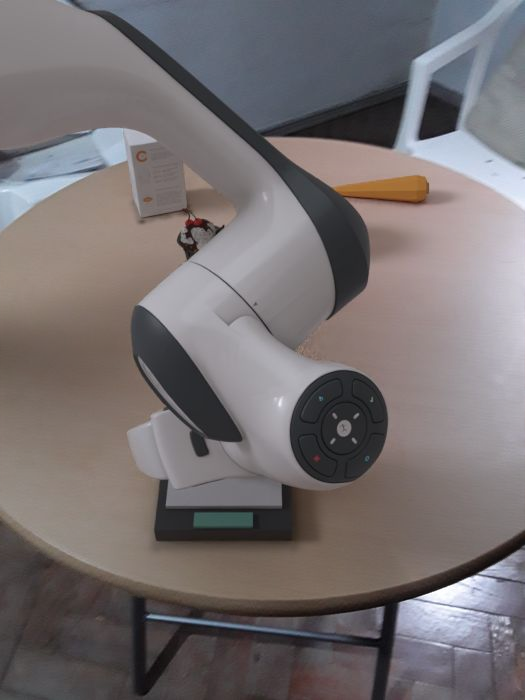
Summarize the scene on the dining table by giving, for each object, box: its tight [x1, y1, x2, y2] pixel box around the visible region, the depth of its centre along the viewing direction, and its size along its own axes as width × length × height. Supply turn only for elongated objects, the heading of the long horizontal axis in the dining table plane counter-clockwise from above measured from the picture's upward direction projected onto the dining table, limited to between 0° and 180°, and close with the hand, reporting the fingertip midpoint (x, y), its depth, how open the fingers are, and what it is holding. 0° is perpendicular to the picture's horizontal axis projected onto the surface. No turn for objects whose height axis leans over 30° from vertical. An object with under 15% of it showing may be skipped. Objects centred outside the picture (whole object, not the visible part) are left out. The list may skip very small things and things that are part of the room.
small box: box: [122, 128, 188, 218], centre depth 110 cm, size 8×6×13 cm
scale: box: [153, 474, 293, 542], centre depth 74 cm, size 14×14×3 cm
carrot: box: [330, 174, 430, 203], centre depth 116 cm, size 20×4×4 cm, turn 84°
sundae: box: [176, 207, 226, 261], centre depth 92 cm, size 7×7×15 cm
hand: (220, 412), depth 69 cm, fingers closed on smoothie, 6 cm apart
